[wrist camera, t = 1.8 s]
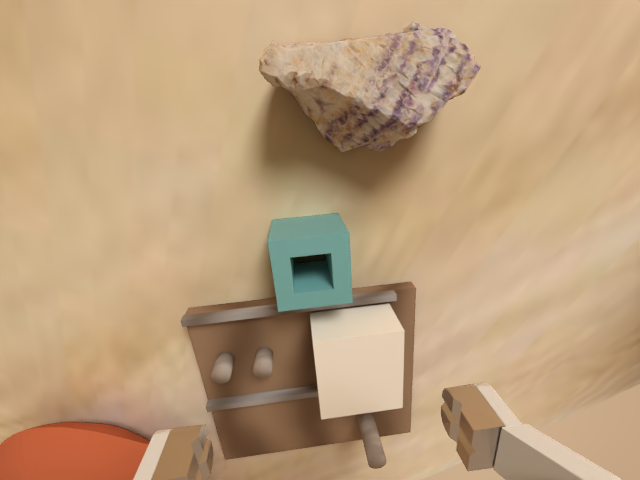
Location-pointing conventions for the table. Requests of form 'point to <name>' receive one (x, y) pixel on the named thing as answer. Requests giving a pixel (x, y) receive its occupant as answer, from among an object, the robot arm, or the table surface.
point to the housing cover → (358, 360)
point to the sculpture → (72, 453)
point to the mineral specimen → (372, 82)
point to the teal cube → (311, 277)
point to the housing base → (287, 375)
